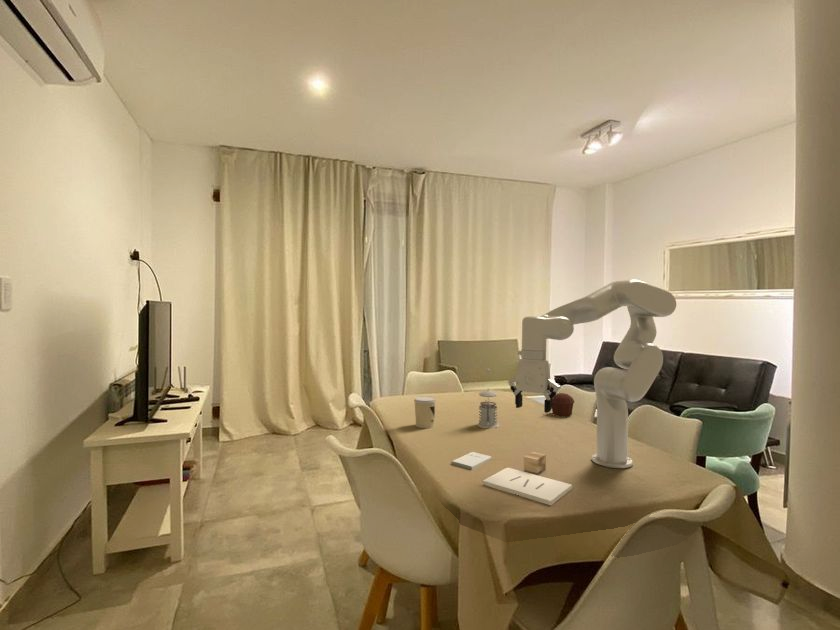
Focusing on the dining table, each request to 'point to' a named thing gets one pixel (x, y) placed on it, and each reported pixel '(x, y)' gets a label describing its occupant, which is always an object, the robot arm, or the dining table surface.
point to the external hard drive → (471, 460)
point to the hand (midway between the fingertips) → (533, 409)
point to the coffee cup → (424, 411)
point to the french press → (488, 411)
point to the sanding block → (534, 463)
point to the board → (528, 485)
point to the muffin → (562, 404)
